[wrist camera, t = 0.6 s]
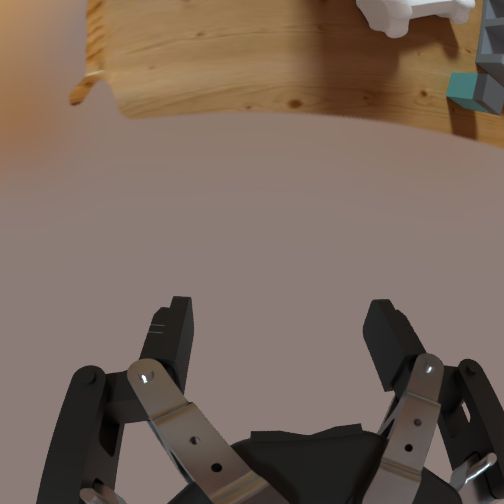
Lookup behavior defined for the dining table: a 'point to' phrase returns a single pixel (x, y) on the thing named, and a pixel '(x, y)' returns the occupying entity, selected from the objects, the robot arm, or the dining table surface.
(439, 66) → the dining table surface
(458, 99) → the teal plug
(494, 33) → the grey piece
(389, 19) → the bone shaped toy
